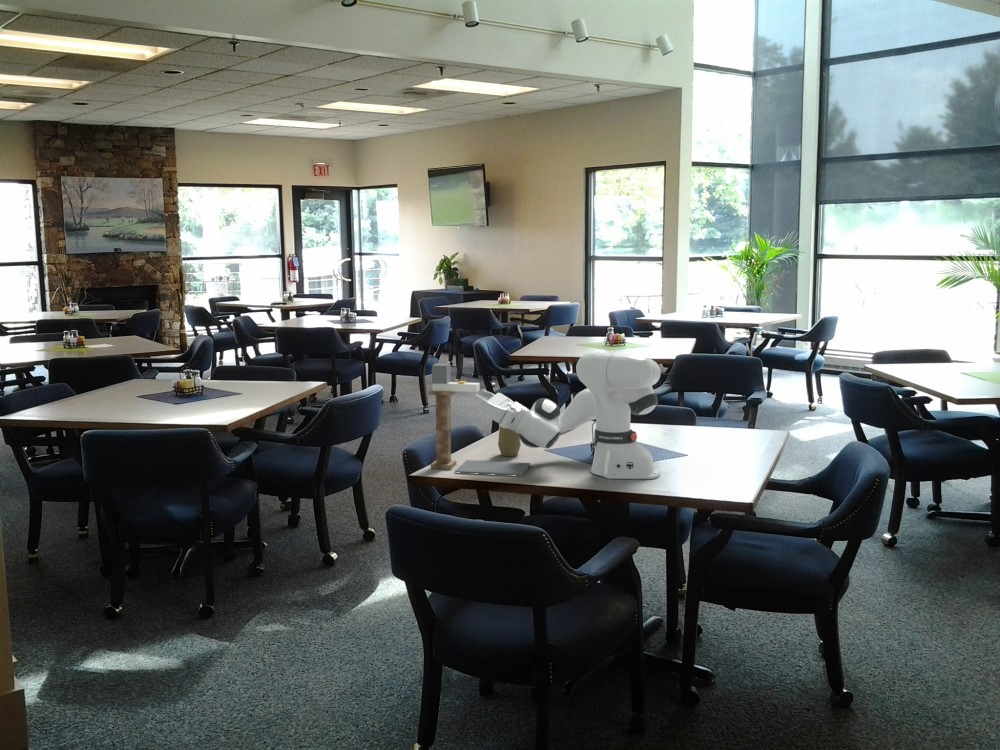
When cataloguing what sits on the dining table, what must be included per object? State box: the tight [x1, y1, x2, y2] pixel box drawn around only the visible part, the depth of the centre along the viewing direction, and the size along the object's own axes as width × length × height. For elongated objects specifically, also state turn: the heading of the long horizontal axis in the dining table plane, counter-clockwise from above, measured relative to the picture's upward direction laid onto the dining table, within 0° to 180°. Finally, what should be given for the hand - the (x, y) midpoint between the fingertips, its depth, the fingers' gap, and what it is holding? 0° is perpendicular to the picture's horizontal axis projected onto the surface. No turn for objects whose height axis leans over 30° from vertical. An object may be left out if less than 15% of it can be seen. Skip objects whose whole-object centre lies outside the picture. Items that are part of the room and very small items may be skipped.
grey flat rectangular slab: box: [454, 459, 531, 477], centre depth 309 cm, size 22×16×1 cm
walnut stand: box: [427, 388, 457, 470], centre depth 310 cm, size 8×8×26 cm
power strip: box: [431, 363, 481, 393], centre depth 307 cm, size 15×5×8 cm, turn 78°
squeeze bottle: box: [497, 426, 522, 457], centre depth 329 cm, size 8×8×18 cm
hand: (477, 393), depth 307 cm, fingers open, 8 cm apart
